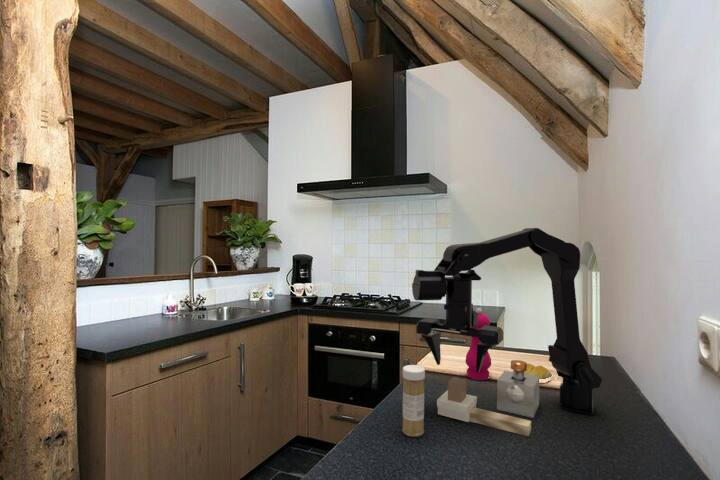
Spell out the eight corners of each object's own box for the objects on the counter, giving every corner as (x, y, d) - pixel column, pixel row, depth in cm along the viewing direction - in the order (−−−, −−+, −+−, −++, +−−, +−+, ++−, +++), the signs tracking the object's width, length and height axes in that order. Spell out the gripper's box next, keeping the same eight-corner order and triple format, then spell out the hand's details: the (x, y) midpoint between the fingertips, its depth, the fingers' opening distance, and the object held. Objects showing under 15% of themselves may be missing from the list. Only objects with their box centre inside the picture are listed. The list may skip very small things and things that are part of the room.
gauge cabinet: (538, 405, 96) (539, 376, 96) (533, 418, 89) (533, 387, 89) (504, 398, 100) (504, 370, 100) (496, 410, 93) (496, 380, 93)
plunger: (527, 386, 95) (528, 361, 95) (525, 391, 92) (525, 365, 92) (512, 383, 97) (512, 359, 97) (508, 388, 94) (509, 363, 94)
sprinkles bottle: (415, 425, 85) (416, 363, 85) (428, 435, 81) (429, 369, 81) (397, 429, 83) (398, 365, 83) (409, 439, 79) (410, 372, 79)
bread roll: (523, 371, 121) (524, 358, 121) (554, 379, 115) (554, 365, 115) (511, 378, 115) (512, 364, 115) (543, 386, 109) (543, 372, 109)
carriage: (476, 411, 91) (477, 379, 91) (467, 423, 85) (467, 388, 85) (447, 404, 95) (447, 373, 95) (436, 415, 89) (437, 382, 89)
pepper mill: (494, 381, 112) (495, 310, 112) (468, 380, 112) (470, 310, 112) (486, 372, 119) (487, 306, 119) (462, 371, 119) (463, 305, 119)
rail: (531, 430, 83) (531, 421, 83) (528, 436, 81) (528, 426, 81) (444, 408, 93) (444, 400, 93) (439, 413, 91) (440, 404, 91)
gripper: (509, 299, 92) (508, 366, 92) (433, 292, 102) (432, 352, 102) (497, 305, 83) (496, 380, 83) (415, 297, 92) (414, 364, 93)
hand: (457, 368), depth 90 cm, fingers open, 9 cm apart
